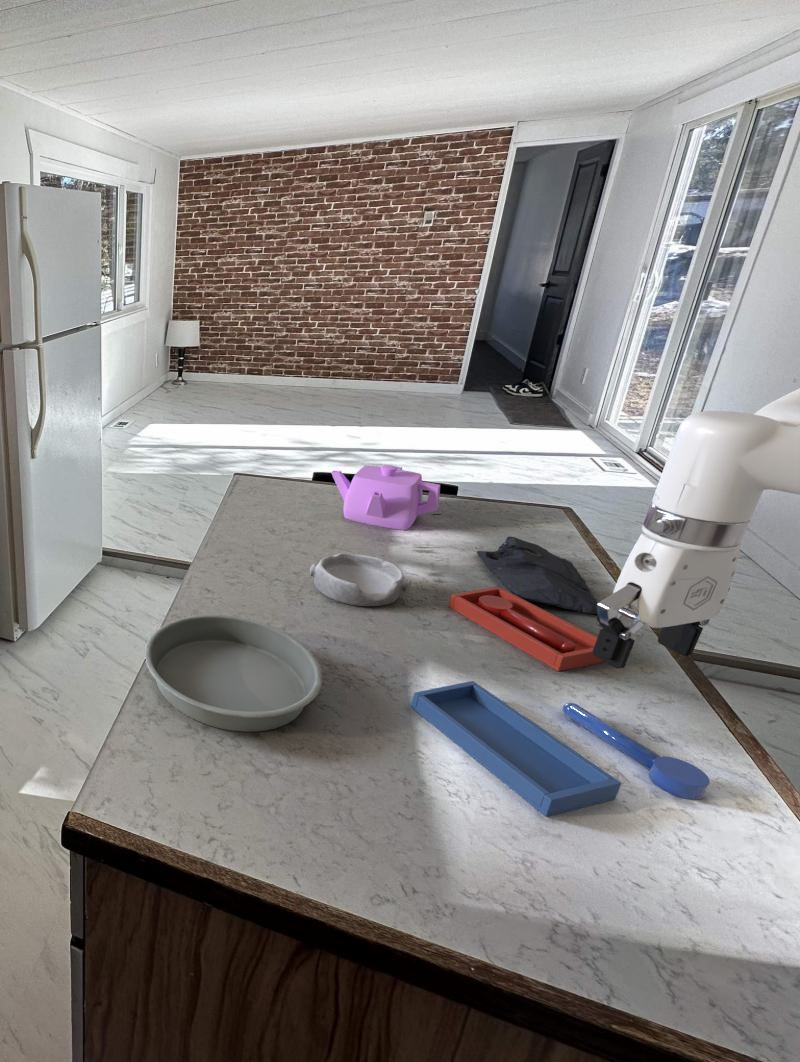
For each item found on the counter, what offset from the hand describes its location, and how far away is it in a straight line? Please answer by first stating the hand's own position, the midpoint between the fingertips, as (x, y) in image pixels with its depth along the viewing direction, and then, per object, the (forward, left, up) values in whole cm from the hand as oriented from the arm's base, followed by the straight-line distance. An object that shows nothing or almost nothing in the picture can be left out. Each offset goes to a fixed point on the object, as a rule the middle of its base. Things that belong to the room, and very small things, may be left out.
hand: (640, 655), depth 76 cm
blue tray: (+14, -2, -13) cm, 19 cm away
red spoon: (-12, -22, -12) cm, 28 cm away
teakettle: (-24, -68, -13) cm, 74 cm away
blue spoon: (0, +2, -13) cm, 13 cm away
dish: (+4, -41, -13) cm, 43 cm away
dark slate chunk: (-29, -34, -13) cm, 46 cm away
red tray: (-12, -22, -13) cm, 28 cm away
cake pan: (+40, -23, -13) cm, 48 cm away
